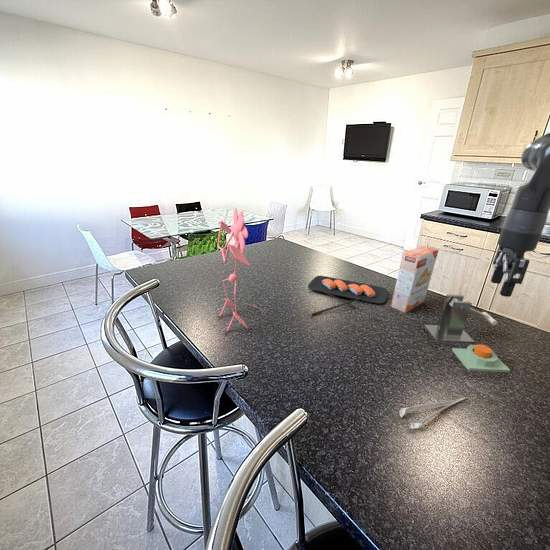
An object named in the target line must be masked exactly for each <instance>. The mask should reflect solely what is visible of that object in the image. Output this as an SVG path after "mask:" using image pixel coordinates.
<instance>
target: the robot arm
mask: <svg viewBox="0 0 550 550" xmlns="http://www.w3.org/2000/svg"><path fill="white" fill-rule="evenodd" d="M520 161H521V164H522V166H523V167H524V168H525V169H527V170H530V171H534V173H533V175H532V176H531V178H530V179H529V181H528V182H524V183H521V184H520V185H519V186H518V187H517V189H516V192H515V194H514V197H513V199H512V203H511V206H510V209H509V211H508V212H507V214H506V216H505V219H504V222H503V225H502V227H501V231H500V233H499V237H498V239H497V245H498V247H497V250H496V253H495V254H494V255H495V256H494V258H493V261H492V265H493V269H494V270H493V273H492V275H491V278H490V282H491V283H492V284H496V285H500V284H501V283H502V280H503V278H504V281H503V283H502V286H501V288H500V291H499V295H500V296H501V297H507V298H510V297H511V296H512V295H513V292H514V290H515V287H516V285H522V283H523V281H524V279H525V276H526V273H527V270H528V267H529V265H530V259H525V254H526V253H527V252H533V251H535V250H536V249H537V246H538V245H539V244H538V243H539V241H540V239H541V237H542V234H543V231H544V229H545V227H546V223H547V221H548V215H549V212H550V132H547V133H545V134H543V135H542V136H540V137H538V138H536V139H534V140H533V141H531V142H530V143H529V144H528V145H527V146H526V147H525V148H524V150H523V152H522V153H521V157H520Z"/></svg>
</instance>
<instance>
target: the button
mask: <svg viewBox="0 0 550 550" xmlns="http://www.w3.org/2000/svg"><path fill="white" fill-rule="evenodd" d="M475 345H476V346H475V349H474V353H475V354H476V355H478V356H480V357H483V358H490V356H491V353H492V351H493V350H492V348H491V347H489V346H487V345H485V344H481V343H480V344H479V343H478V344H475Z"/></svg>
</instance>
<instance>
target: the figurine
mask: <svg viewBox="0 0 550 550" xmlns="http://www.w3.org/2000/svg"><path fill="white" fill-rule="evenodd" d="M232 222H233V224H231V225H230V226H228V224H227V223H226V222H224V221H223V220H219V230H218V237H217V244H216V246H217V249H220V252H221V255H222V260H223V263H224V264H225V265H226V264H227V260H228V256H229V257H230V258H232V259H233V260H235V263H234V270H233V271H234V272H233V273H231V274H230V275H229V276H228V278H225V279H223V280H222V284H223V289H224V292H225V296H226V297H225V298H224V300H223V301H224V302H225V303H224V305H223V307H222V310H221V312H220V314H219V317H222V316H223V313H224V312H225V309H226V307H227V306H228V307H229V308H231V309H232V314H233V316H232V318H231V321H230V322H229V325H228V327H227V329H226V331H227V332H229V330H230V329H231V326H232V324H233V322H234V321H235V319H236V320H237V321H238V323H240V325H242V326H243V328H245V329H246V330H249V327H248V325H247V324H246V323H245V321H244V320H243V319H242V318H241V316H240V315H239V314H238V312H237V298H236V297H237V296H236V295H237V294H236V291H237V282H238V280H239V276H238V275H237V274H236V272H237V266H238V262H240V263H241V264H243V265H244V266H246V267H248V268H251V265H250V262H249V261H248V259H247V258H246V256H245V255H244V254H245V250H246V249H245V248H246V240H245V239H247V238H249V231H248V229H247V227H246V226H245V218H244V211H243V210H240V211H239V213H238V210H237V208H234V209H233V214H232ZM222 230H223V231H224V232H225V233H227V234H228V235H230V237H229V238H228V240H227V242H226V243H225V245H224V247H223V248H222V247H221V246H220V242H221V236H222V235H221V234H222ZM232 239H233V241H234V245H231V244H230V242H231V240H232ZM229 252H231V253H232V254H230V253H229ZM226 281H229V282H230V283H233V284H234V291H233V292H234V293H233V298H234V304H233V302H231V300H230V299H229V295H228V293H227V288H226V285H225V282H226ZM243 304H245V305H247V303H246V302H243ZM248 305H249V306H252V307H255V308H257V309H259V310H260V311H262V309H261V308H259V307H257V304H256V305H255V304H250V303H248ZM264 315H265V316H267V314H265V313H264ZM230 342H232V340H229V343H230Z"/></svg>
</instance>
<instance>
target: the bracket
mask: <svg viewBox="0 0 550 550" xmlns="http://www.w3.org/2000/svg"><path fill="white" fill-rule="evenodd" d="M453 298H456V299H459V300H461V301H454V303H453V306H452V307H451V306H450V305H449V303H450V302H451V301H452V299H453ZM472 305H473V303H472V302H471V301H464V295H463V294H446V296H445V299H444V302H443V306H442V310H441V312H440V313H441V314H440V316H439V320H438V323H437V325H436V324H423V326H424V328H425V329H426V330H427V331H428V334H430V335H431V337H432V338H433V339H434V341H435V342H450V343H472V344H473V343H474V344H475V343H476V340H474V339H473V338H472V337H471V336H470V335H469V334H468V333H467V332H466V331H465V329H464V328H465V327H466V326H465V325H466V323H467V319H468V316H469V313H470V312H469V311H470V308H472Z"/></svg>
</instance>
